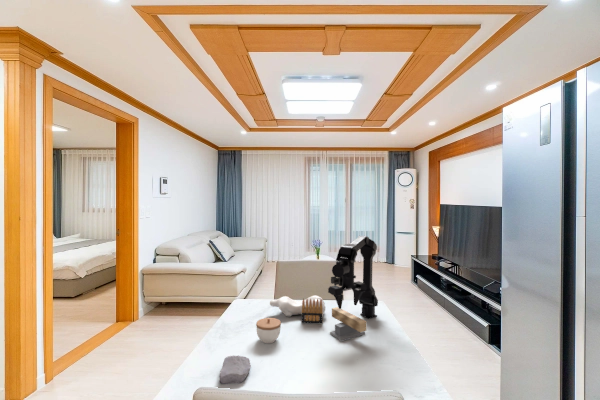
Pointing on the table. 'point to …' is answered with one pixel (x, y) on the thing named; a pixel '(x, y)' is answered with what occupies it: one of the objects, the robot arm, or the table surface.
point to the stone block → (234, 369)
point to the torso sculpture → (294, 305)
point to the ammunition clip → (312, 312)
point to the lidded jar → (268, 329)
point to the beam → (349, 319)
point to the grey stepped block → (345, 332)
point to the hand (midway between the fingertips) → (347, 306)
